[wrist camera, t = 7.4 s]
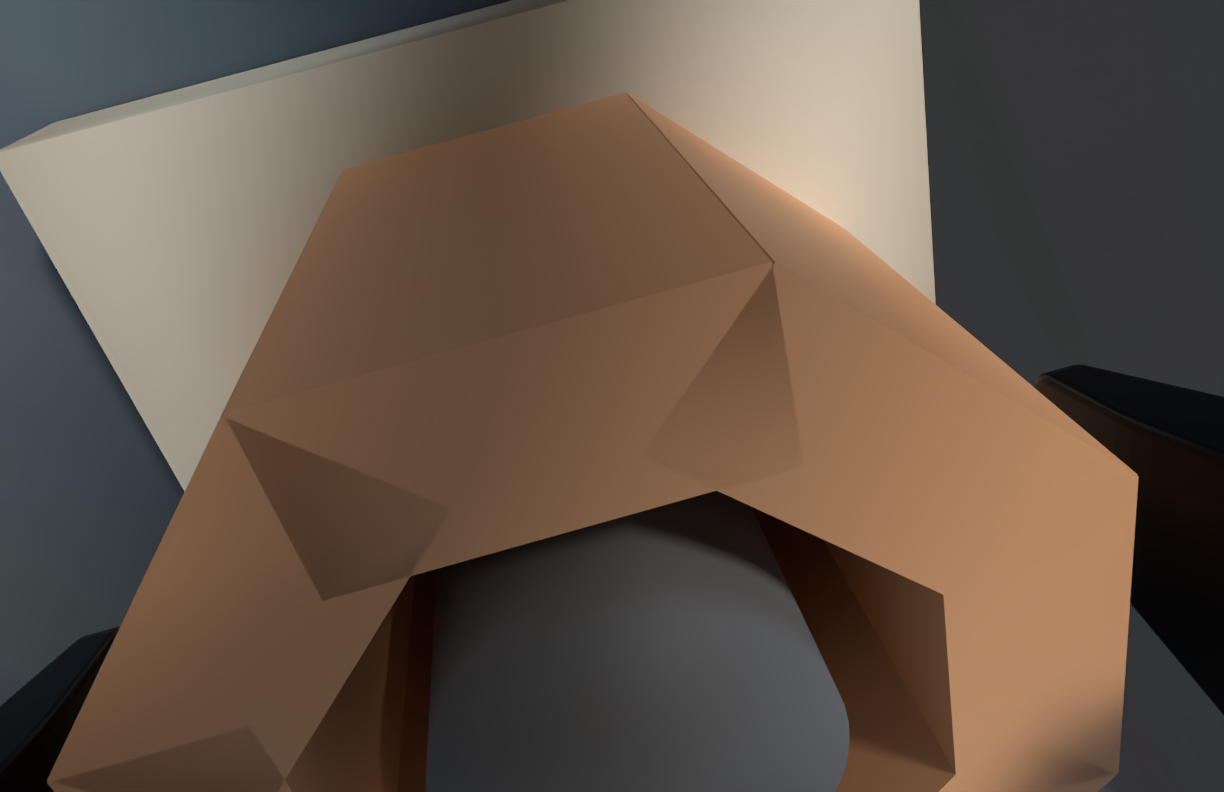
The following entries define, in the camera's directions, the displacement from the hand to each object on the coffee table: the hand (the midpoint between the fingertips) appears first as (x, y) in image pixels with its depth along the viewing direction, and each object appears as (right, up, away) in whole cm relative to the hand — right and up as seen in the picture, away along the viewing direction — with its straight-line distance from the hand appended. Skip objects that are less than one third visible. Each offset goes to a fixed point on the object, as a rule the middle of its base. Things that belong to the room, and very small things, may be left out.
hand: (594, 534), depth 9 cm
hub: (0, +1, +2) cm, 2 cm away
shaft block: (-1, +2, +3) cm, 4 cm away
